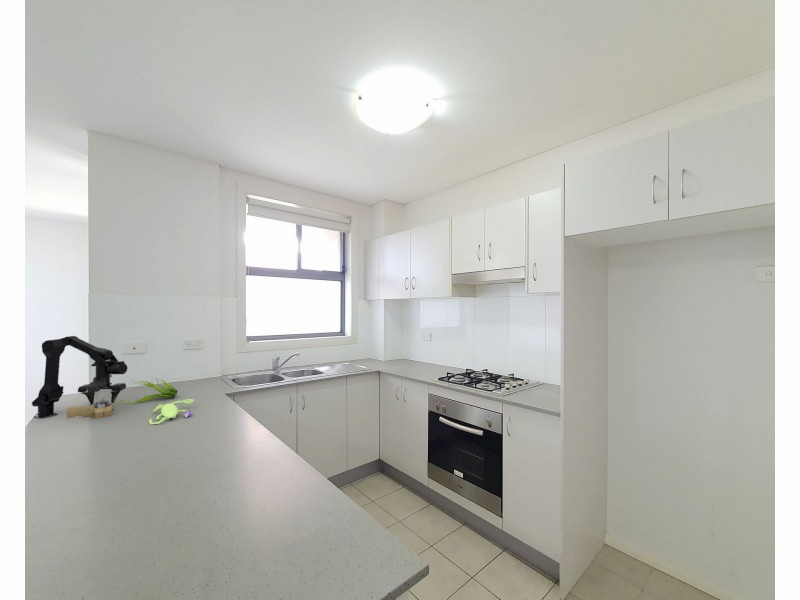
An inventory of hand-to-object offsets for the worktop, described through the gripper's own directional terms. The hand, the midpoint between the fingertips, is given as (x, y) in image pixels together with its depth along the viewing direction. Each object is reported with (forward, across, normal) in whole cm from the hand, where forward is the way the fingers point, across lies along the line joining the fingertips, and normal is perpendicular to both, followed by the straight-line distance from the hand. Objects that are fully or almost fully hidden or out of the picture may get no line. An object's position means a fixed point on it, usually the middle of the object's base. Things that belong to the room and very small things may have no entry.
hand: (102, 403), depth 170 cm
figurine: (+6, +35, -5) cm, 36 cm away
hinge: (+6, -4, +2) cm, 8 cm away
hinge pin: (+6, 0, 0) cm, 6 cm away
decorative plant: (+6, +9, +23) cm, 25 cm away
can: (+6, -11, +20) cm, 24 cm away
